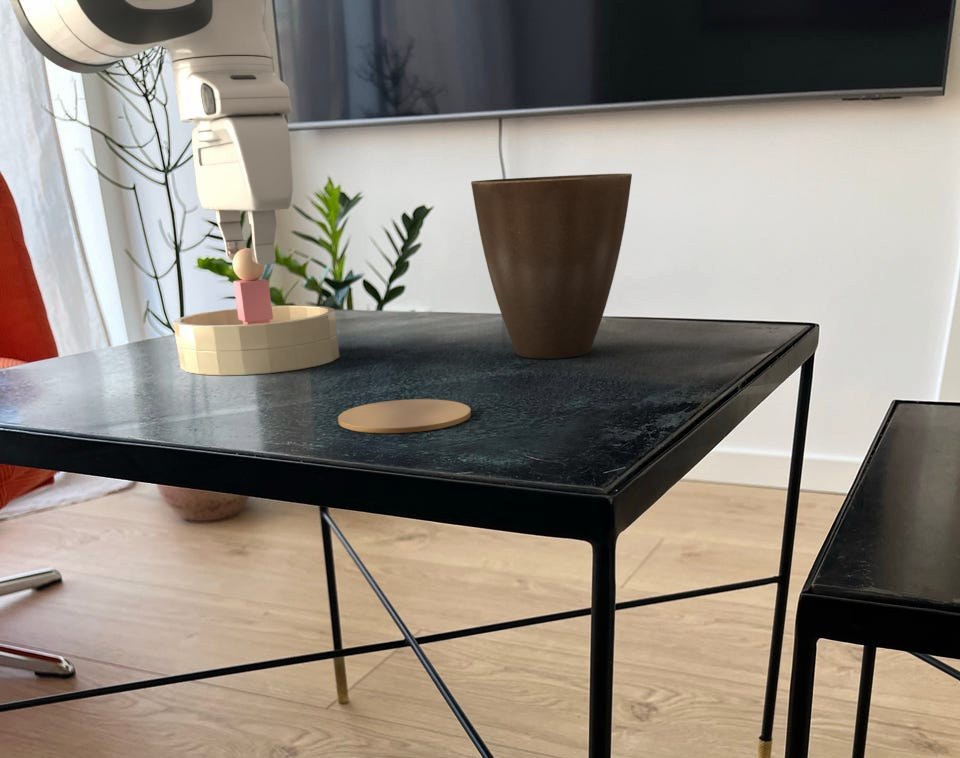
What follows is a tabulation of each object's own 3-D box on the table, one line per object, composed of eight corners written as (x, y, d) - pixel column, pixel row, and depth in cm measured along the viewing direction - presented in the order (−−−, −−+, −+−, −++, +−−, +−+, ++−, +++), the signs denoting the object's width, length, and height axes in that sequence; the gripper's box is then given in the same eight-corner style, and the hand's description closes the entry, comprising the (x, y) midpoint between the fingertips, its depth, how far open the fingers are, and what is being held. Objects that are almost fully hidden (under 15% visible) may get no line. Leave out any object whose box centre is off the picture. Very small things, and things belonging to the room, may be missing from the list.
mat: (367, 440, 70) (367, 434, 70) (320, 415, 79) (319, 410, 78) (494, 420, 74) (494, 414, 74) (436, 398, 83) (436, 393, 82)
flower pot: (650, 359, 95) (654, 171, 89) (494, 371, 93) (487, 180, 86) (603, 337, 109) (604, 173, 102) (466, 347, 106) (458, 180, 100)
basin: (203, 388, 92) (194, 331, 89) (167, 366, 104) (159, 315, 102) (362, 368, 98) (357, 314, 96) (310, 349, 110) (305, 301, 108)
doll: (249, 364, 99) (234, 250, 94) (241, 361, 101) (225, 248, 97) (281, 361, 100) (267, 247, 96) (272, 357, 103) (258, 246, 98)
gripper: (168, 108, 98) (192, 259, 104) (221, 89, 82) (247, 270, 87) (232, 106, 101) (252, 254, 107) (296, 87, 84) (316, 264, 90)
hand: (250, 262), depth 97 cm, fingers open, 8 cm apart
